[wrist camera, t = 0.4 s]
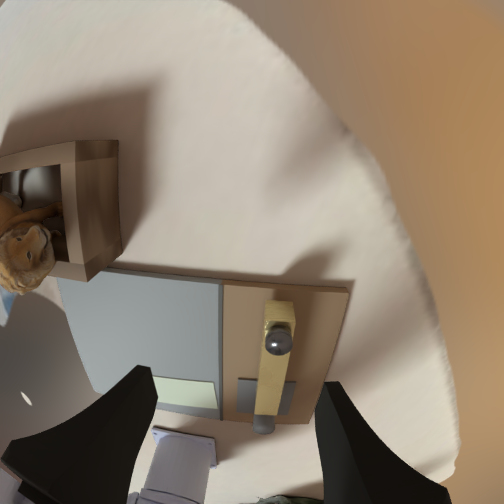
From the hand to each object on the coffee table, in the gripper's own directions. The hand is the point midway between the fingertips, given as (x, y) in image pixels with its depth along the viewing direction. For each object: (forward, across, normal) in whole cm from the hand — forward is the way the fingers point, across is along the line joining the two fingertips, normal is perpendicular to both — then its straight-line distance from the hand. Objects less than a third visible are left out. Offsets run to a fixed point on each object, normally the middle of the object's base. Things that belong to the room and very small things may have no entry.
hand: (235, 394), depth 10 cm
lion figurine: (+10, +18, -6) cm, 21 cm away
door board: (+10, +5, +8) cm, 14 cm away
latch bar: (+8, -2, +5) cm, 10 cm away
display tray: (+10, +18, -6) cm, 21 cm away
